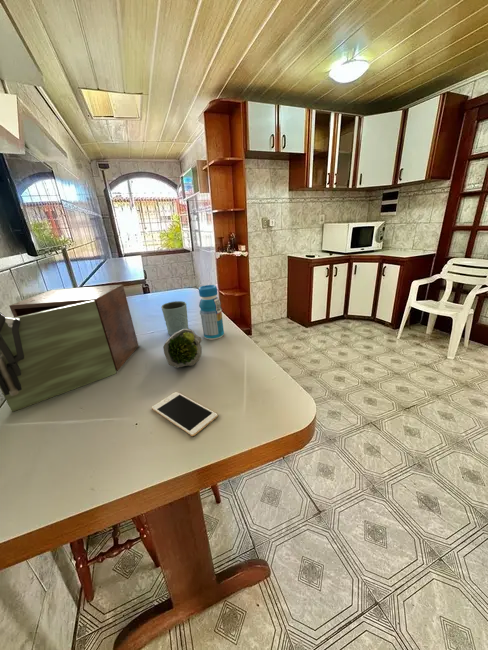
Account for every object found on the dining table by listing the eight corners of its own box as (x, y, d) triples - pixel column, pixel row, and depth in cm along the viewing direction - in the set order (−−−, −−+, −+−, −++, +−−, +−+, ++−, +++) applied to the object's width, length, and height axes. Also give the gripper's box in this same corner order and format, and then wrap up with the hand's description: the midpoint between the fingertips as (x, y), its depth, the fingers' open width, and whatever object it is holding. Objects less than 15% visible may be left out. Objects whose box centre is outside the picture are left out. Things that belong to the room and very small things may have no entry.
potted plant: (205, 340, 95) (217, 345, 81) (183, 370, 92) (191, 381, 78) (177, 320, 91) (184, 322, 77) (154, 351, 88) (157, 359, 75)
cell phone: (176, 393, 72) (176, 391, 72) (218, 416, 63) (218, 414, 62) (151, 409, 67) (150, 407, 67) (192, 437, 57) (192, 435, 57)
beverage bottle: (207, 342, 101) (199, 291, 94) (201, 334, 109) (193, 286, 101) (227, 337, 104) (222, 287, 97) (220, 329, 111) (214, 283, 104)
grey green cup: (177, 325, 120) (173, 300, 115) (195, 328, 115) (191, 301, 111) (161, 334, 112) (155, 307, 107) (180, 337, 107) (174, 309, 103)
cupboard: (117, 371, 86) (95, 298, 77) (39, 376, 88) (8, 305, 78) (138, 346, 103) (123, 284, 94) (72, 350, 104) (50, 289, 95)
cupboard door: (121, 380, 80) (98, 304, 71) (11, 423, 66) (-35, 335, 57) (115, 371, 86) (93, 300, 77) (12, 409, 72) (-30, 326, 62)
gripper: (11, 287, 63) (47, 372, 72) (-80, 303, 54) (-27, 397, 63) (13, 291, 58) (51, 383, 67) (-88, 310, 49) (-29, 412, 58)
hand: (13, 390), depth 65 cm, fingers closed on cupboard door, 2 cm apart
